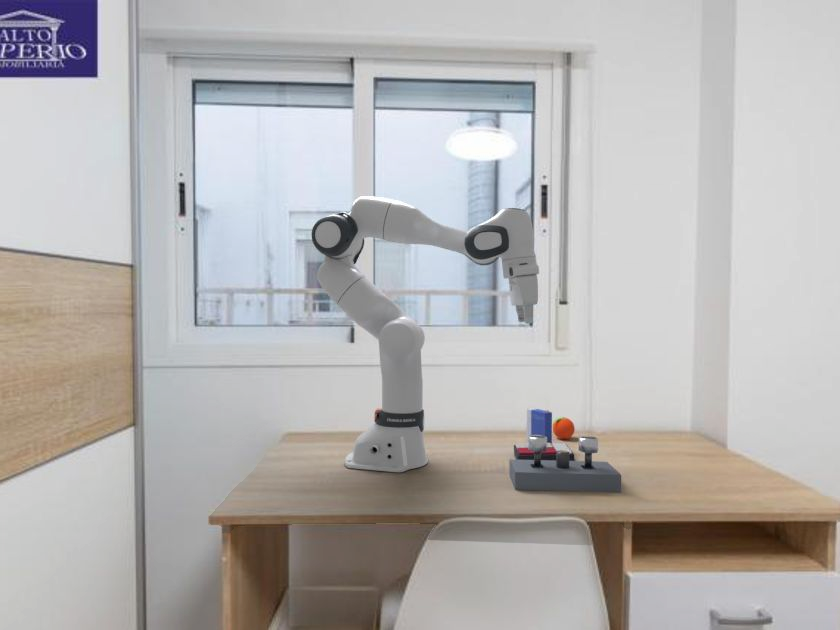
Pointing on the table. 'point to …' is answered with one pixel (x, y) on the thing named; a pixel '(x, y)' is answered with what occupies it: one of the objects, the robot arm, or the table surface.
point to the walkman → (539, 423)
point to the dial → (562, 459)
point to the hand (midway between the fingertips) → (525, 322)
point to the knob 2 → (588, 448)
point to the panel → (564, 476)
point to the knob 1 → (537, 447)
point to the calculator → (525, 454)
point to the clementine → (563, 428)
